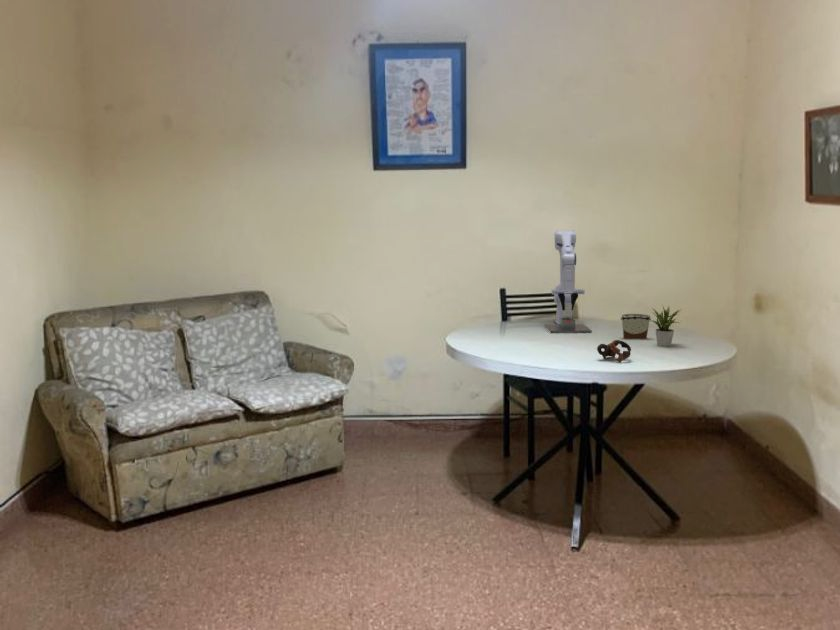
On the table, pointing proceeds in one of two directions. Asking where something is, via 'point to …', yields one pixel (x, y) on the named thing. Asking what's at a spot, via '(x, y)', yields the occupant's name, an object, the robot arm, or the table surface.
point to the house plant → (664, 327)
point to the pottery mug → (614, 350)
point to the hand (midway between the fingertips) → (567, 310)
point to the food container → (635, 326)
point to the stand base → (567, 327)
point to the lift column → (568, 311)
